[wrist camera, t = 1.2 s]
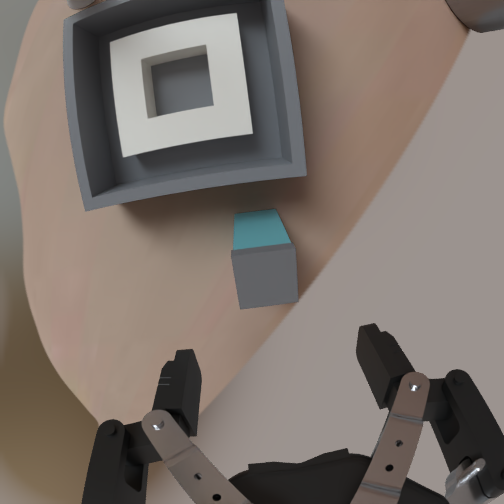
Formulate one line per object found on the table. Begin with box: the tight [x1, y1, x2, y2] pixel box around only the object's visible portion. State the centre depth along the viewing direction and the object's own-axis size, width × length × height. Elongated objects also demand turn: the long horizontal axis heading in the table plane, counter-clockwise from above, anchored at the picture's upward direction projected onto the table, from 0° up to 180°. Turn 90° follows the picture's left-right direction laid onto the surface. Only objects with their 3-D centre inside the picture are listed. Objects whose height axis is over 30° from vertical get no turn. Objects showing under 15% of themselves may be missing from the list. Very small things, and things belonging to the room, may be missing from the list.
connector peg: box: [231, 209, 298, 309], centre depth 24 cm, size 4×4×10 cm
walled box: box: [63, 0, 307, 212], centre depth 20 cm, size 18×18×6 cm
